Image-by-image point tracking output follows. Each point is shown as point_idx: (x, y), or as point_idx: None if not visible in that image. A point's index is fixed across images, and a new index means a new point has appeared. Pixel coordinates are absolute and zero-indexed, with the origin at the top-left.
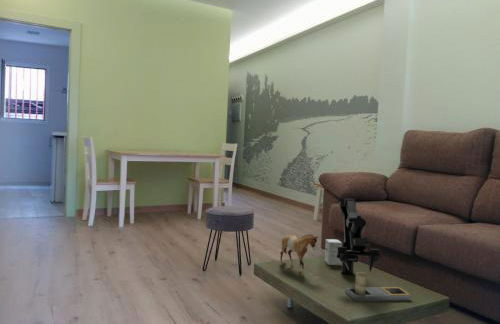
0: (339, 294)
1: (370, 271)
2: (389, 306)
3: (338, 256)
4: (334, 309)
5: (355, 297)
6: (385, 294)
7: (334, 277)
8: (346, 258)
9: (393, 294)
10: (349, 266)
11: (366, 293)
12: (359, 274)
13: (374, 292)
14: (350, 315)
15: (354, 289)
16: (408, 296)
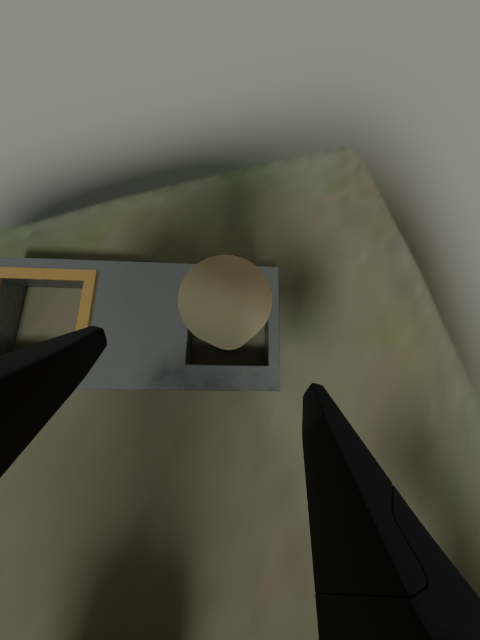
0: (313, 355)
1: (101, 337)
2: (158, 220)
3: None
4: (378, 213)
5: (277, 268)
6: (117, 282)
7: None
8: (436, 582)
9: (79, 272)
10: (322, 404)
11: (190, 336)
12: (254, 270)
13: (158, 310)
14: (338, 167)
15: (239, 365)
16: (15, 258)
